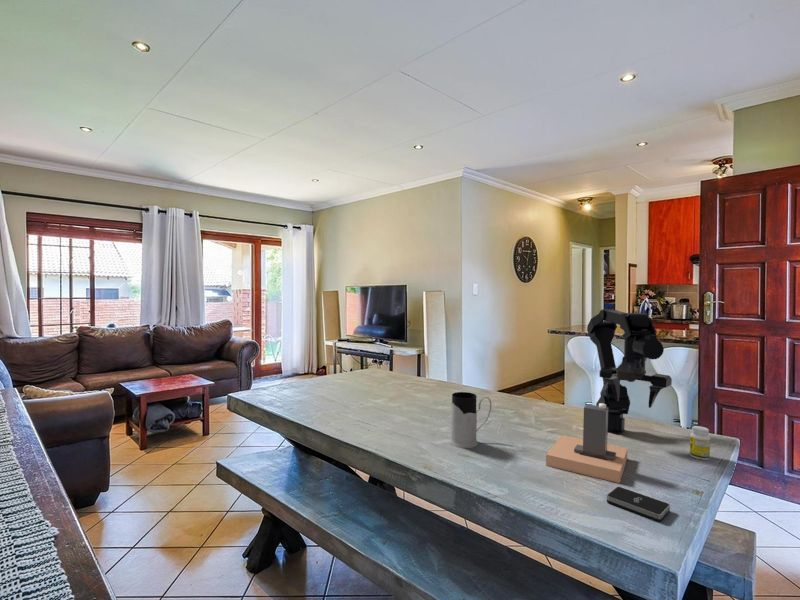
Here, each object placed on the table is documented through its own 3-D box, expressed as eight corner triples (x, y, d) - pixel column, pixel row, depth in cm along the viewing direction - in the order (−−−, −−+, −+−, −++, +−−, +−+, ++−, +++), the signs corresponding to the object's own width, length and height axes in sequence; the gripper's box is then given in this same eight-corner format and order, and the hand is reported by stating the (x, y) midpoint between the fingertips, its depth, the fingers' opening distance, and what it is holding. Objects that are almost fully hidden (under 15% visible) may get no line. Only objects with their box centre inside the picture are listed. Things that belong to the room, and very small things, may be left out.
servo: (573, 463, 116) (575, 401, 115) (576, 458, 119) (578, 398, 118) (613, 472, 110) (615, 408, 110) (615, 466, 113) (617, 404, 113)
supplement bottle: (690, 452, 124) (691, 424, 124) (710, 456, 121) (711, 427, 121) (688, 457, 120) (689, 428, 120) (709, 461, 117) (710, 432, 117)
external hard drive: (617, 494, 99) (617, 486, 99) (671, 513, 91) (671, 504, 91) (605, 504, 95) (605, 495, 95) (660, 525, 86) (661, 515, 86)
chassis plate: (561, 444, 129) (561, 435, 129) (627, 458, 119) (627, 448, 119) (545, 465, 114) (546, 454, 114) (619, 483, 104) (620, 471, 104)
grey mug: (444, 439, 133) (445, 392, 132) (483, 434, 138) (483, 389, 137) (458, 449, 124) (458, 399, 124) (498, 443, 130) (499, 395, 129)
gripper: (592, 352, 129) (591, 402, 130) (660, 361, 115) (659, 416, 116) (607, 349, 137) (606, 396, 137) (672, 356, 123) (671, 409, 123)
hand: (633, 404), depth 128 cm, fingers open, 9 cm apart
